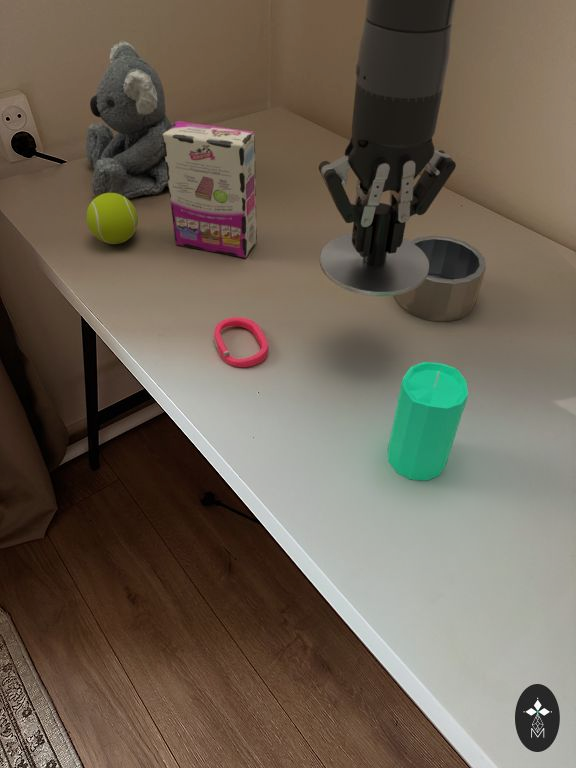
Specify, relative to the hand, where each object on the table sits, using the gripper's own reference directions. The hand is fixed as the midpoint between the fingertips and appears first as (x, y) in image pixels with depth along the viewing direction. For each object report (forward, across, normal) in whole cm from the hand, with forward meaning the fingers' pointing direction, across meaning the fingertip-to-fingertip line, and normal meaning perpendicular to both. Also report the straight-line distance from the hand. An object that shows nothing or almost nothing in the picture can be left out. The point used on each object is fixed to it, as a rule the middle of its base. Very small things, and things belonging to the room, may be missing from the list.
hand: (376, 250), depth 67 cm
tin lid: (+2, 0, 0) cm, 2 cm away
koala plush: (+14, -21, +50) cm, 56 cm away
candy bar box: (+14, -13, +27) cm, 33 cm away
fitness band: (+14, -14, +4) cm, 20 cm away
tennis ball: (+14, -27, +31) cm, 44 cm away
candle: (+14, 0, -17) cm, 22 cm away
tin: (+14, +13, +8) cm, 21 cm away
